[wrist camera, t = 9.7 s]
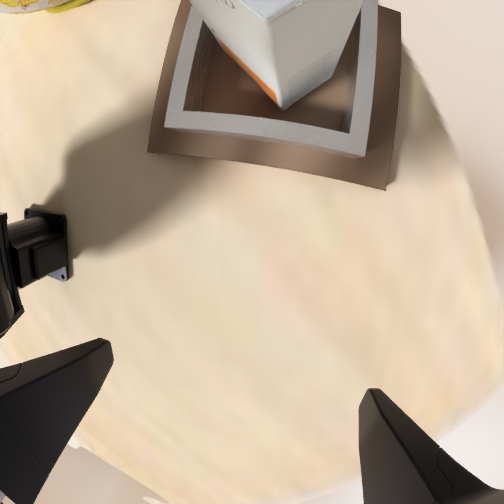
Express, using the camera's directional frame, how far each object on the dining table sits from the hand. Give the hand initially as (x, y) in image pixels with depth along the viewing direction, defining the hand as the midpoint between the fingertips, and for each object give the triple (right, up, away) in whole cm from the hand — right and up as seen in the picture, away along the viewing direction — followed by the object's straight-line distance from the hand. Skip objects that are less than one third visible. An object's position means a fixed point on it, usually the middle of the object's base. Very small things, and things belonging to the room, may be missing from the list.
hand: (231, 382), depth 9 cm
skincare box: (+2, +16, +7) cm, 18 cm away
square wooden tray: (+3, +16, +8) cm, 18 cm away
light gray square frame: (+2, +16, +7) cm, 18 cm away
